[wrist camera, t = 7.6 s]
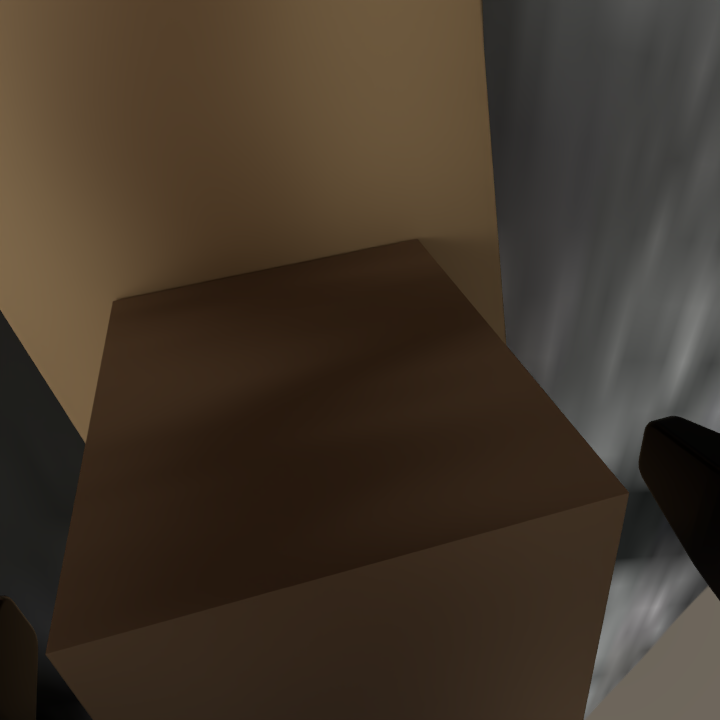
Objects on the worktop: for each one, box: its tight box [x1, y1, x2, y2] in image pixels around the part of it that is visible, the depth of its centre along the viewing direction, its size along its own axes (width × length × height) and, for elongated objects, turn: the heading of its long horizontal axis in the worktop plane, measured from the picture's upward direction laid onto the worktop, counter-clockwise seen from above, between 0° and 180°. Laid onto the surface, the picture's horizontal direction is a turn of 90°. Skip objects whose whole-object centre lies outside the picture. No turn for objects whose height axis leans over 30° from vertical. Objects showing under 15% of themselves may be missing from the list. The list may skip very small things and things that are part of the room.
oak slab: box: [0, 0, 506, 443], centre depth 13 cm, size 8×16×3 cm, turn 12°
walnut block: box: [46, 239, 629, 720], centre depth 9 cm, size 5×5×6 cm
